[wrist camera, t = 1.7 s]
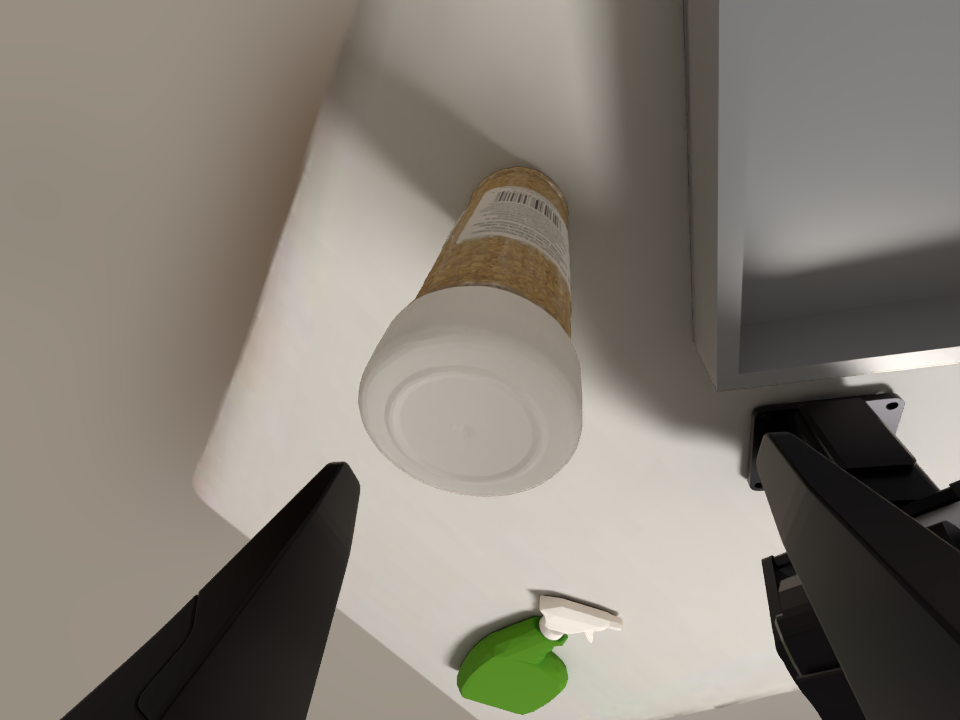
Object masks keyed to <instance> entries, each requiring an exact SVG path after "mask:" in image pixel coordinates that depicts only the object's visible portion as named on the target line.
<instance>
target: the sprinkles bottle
mask: <svg viewBox="0 0 960 720" xmlns="http://www.w3.org/2000/svg"><path fill="white" fill-rule="evenodd" d="M567 228H568V208H567V204H566V201H565V198H564V196H563V194H562V192H561V191H560V189H559V187H558V186H557V185H556V184H555V183H554V182H552V180H551V179H550V178H549V177H547V176H545V175H543V174H542V173H541V172H539V171H537V170H534V169H529V168H525V167H513V168H507V169H501V170H499V171H497V172H496V173H494V174H491V175H490V176H488V177H487V178H485V179H484V180H483V181H482V182H481V183H480V184H479V186H478V187H477V189H476V190H475V191H474V193H473V194H472V196H471V200H470V203H469V206H468V208H467V209H466V210H465V211H464V212H463V213H462V215H461V216H460V218H459V219H458V221H457V223H456V224H455V226H454V228H453V229H452V231H451V232H450V234H449V236H448V238H447V239H446V241H445V243H444V245H443V247H442V251H441V253H440V255H439V257H438V258H437V260H436V262H435V264H434V266H433V268H432V269H431V271H430V272H429V274H428V276H427V278H426V279H425V281H424V284H423V286H422V288H421V290H420V291H419V293H418V295H417V297H416V298H415V300H413V301H412V302H411V303H410V304H409V305H408V306H407V307H406V308H404V309H403V310H402V311H401V312H400V313H399V314H398V315H397V316H396V317H395V318H394V320H393V321H392V322H391V324H390V325H389V327H388V329H387V330H386V332H385V334H384V335H383V337H382V339H381V340H380V342H379V344H378V345H377V347H376V349H375V351H374V353H373V355H372V357H371V358H370V360H369V362H368V364H367V366H366V368H365V370H364V373H363V375H362V379H361V382H360V388H359V399H358V403H359V409H360V414H361V418H362V421H363V424H364V427H365V429H366V431H367V433H368V435H369V436H370V438H371V440H372V441H373V443H374V444H375V445H376V447H377V448H378V449H379V450H380V452H381V453H382V454H383V455H384V456H385V457H386V458H387V459H388V460H389V461H390V462H392V463H393V464H394V465H395V466H397V467H398V468H399V469H401V470H402V471H404V472H405V473H407V474H408V475H410V476H411V477H413V478H415V479H417V480H419V481H421V482H423V483H425V484H428V485H430V486H433V487H435V488H438V489H441V490H445V491H449V492H453V493H457V494H462V495H470V496H482V497H491V496H502V495H509V494H514V493H519V492H522V491H526V490H529V489H531V488H534V487H536V486H538V485H540V484H542V483H544V482H545V481H547V480H548V479H550V478H552V477H553V476H554V475H556V474H557V473H558V472H559V471H560V470H561V469H562V468H563V467H564V466H565V465H566V464H567V463H568V461H569V460H570V458H571V457H572V455H573V453H574V452H575V450H576V448H577V446H578V443H579V439H580V435H581V430H582V386H581V372H580V365H579V360H578V356H577V354H576V351H575V348H574V346H573V344H572V342H571V321H570V318H571V311H572V293H571V274H570V255H569V240H568V232H567Z"/></svg>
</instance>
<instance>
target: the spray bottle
mask: <svg viewBox="0 0 960 720" xmlns="http://www.w3.org/2000/svg"><path fill="white" fill-rule="evenodd" d="M539 610H540V611H541V612H542V613H543V615H544V616H543V617H533V618H530V619H527V620H524V621H521V622H519V623H516V624H513V625H510V626H508V627H506V628H504V629H502V630H499V631H496V632H493V633H491V634H490V635H488V636H487V637H485V638H484V639H482V640H481V641H480V642H479V643H478V644H476V645H475V646H474V647H473V648H472V649H471V651H470V652H469V654H468V655H467V657H466V658H465V660H464V661H463V663H462V664H461V667H460V670H459V673H458V675H457V686H458V688H459V691H460V693H461V695H462V697H464V698H466V699H470V700H473V701H476V702H480V703H483V704H486V705H490V706H493V707H497V708H500V709H503V710H507V711H510V712H513V713H517V714H522V715H524V714H527V713H530V712H534V711H535V710H537V709H539V708H540V707H542V706H544V705H545V704H547V703H549V702H550V701H551V700H552V699H553V698H554V697H556V696H557V695H558V694H559V693H560V692H561V691H562V690H563V689H564V688H565V687H566V684H567V680H568V675H567V670H566V666H565V664H564V663H563V662H562V660H561V659H560V658H559V657H558V656H557V655H555V654H554V653H553V652H551V651H552V649H553V647H554V646H561V645H563V644H564V642H565V641H566V639H567V638H568V636H567V634H572V633H579V632H585V634H586V636H587V639H588V640H589V642H590V643H593V633H594V631H603V630H604V629H606V628H610V629H615V630H619V631H620V630H621V629H622V626H623V621H622V619H621V618H620V617H617V616H614V615H611V614H610V613H608V612H605V611H602V610H598V609H595V608H592V607H589V606H585V605H582V604H579V603H575V602H572V601H569V600H566V599H562V598H556V597H549V596H543V595H541V596H540V609H539Z"/></svg>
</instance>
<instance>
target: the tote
mask: <svg viewBox="0 0 960 720" xmlns="http://www.w3.org/2000/svg"><path fill="white" fill-rule="evenodd" d="M683 15H684V49H685V83H686V116H687V150H688V184H689V217H690V251H691V285H692V318H693V341H694V344H695V346H696V348H697V350H698V352H699V354H700V356H701V359H702V361H703V363H704V365H705V367H706V369H707V372H708V374H709V376H710V378H711V380H712V382H713V385H714V387H715V389H716V391H717V392H718V391H727V390H735V389H744V388H752V387H761V386H769V385H778V384H787V383H795V382H804V381H812V380H821V379H829V378H838V377H846V376H855V375H864V374H872V373H881V372H889V371H898V370H906V369H915V368H924V367H932V366H941V365H949V364H958V363H960V0H683Z"/></svg>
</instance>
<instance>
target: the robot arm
mask: <svg viewBox="0 0 960 720" xmlns="http://www.w3.org/2000/svg"><path fill="white" fill-rule="evenodd" d="M889 403H890V404H889ZM904 405H905V402H904V401H903V400H902V399H901V398H900V397H899V396H898V395H897V394H895V393H885V394H876V395H866V396H857V397H847V398H838V399H828V400H819V401H809V402H799V403H790V404H780V405H771V406H762V407H758V408H756V409H755V410H754V411H753V412H752V419H751V434H750V449H749V465H748V480H747V481H748V484H749V486H750V488H751V489H752V490H755V491H763V490H764V491H765V494H766V496H767V499H768V502H769V505H770V508H771V511H772V514H773V517H774V520H775V523H776V526H777V529H778V531H779V534H780V537H781V540H782V542H783V545H784V547H785V549H786V552H785V553H783V554H780V555H777V556H775V557H774V556H769V557H767V558H764V559H762V567H763V573H764V580H765V586H766V592H767V598H768V605H769V611H770V617H771V623H772V630H773V634H774V640H775V646H776V650H777V653H778V655H779V656H780V658H781V659H782V660H783V662H784V664H785V666H786V668H787V670H788V671H789V673H790V675H791V676H792V678H793V680H794V681H795V683H796V684H797V686H798V687H799V689H800V690H801V691H802V693H803V694H804V695H805V696H806V698H807V699H808V700H809V701H810V703H811V704H812V705H813V706H814V708H815V709H816V711H817V712H818V714H819V715H820V717H821V718H822V720H960V480H959V481H956V482H954V483H951V484H949V486H950V487H948V488H946V489H943V490H940V489H939V488H938V487H937V486H936V485H935V484H934V482H933V481H932V480H931V479H930V478H929V477H928V475H927V474H926V473H925V472H924V471H923V470H922V469H921V467H920V466H919V465H918V464H917V463H916V459H915V457H914V456H913V455H912V454H911V453H910V452H909V450H908V449H907V448H906V447H905V446H904V445H903V444H902V442H901V441H900V440H899V439H898V438H897V437H896V436H895V434H896V430H897V427H898V424H899V421H900V418H901V415H902V412H903V408H904ZM763 415H766V416H763ZM761 416H763V417H761ZM359 496H360V484H359V481H358V479H357V478H356V476H355V474H354V473H353V471H352V469H351V468H350V466H349V465H348V463H346V462H331V463H329V464H327V465H326V466H325V467H324V468H323V469H322V470H321V471H320V472H319V473H318V474H317V475H316V476H315V477H314V478H313V479H312V480H311V481H310V482H309V483H308V484H307V485H306V486H305V487H304V488H303V489H302V490H301V491H300V492H299V493H298V494H297V495H296V496H295V497H294V498H293V499H292V500H291V501H290V502H289V503H288V504H287V505H286V506H285V507H284V508H283V509H282V510H281V511H280V512H279V513H278V514H277V515H276V516H275V517H274V518H273V519H272V520H271V521H270V522H269V523H267V524H266V525H265V526H264V527H263V528H262V529H261V530H260V531H259V532H258V533H257V534H256V535H255V536H254V537H253V538H252V539H251V540H250V541H249V543H247V545H245V546H244V547H243V548H242V549H241V550H240V551H239V552H238V554H236V555H235V556H234V557H233V558H232V559H231V560H230V561H229V562H228V563H227V564H226V566H224V567H223V568H222V569H221V570H220V571H219V572H218V573H217V574H216V575H215V576H214V577H213V578H212V579H211V580H210V582H208V583H207V584H206V585H205V586H204V588H202V589H201V590H200V591H199V594H198V595H195V596H194V597H193V598H192V599H191V600H190V601H189V602H188V603H187V604H186V605H185V606H184V607H183V608H182V609H181V610H180V611H179V612H178V613H177V614H176V615H175V616H174V617H173V618H172V619H171V620H170V621H169V622H168V623H167V624H165V626H163V628H161V629H160V630H159V631H158V632H157V633H156V634H155V635H154V636H153V637H152V638H151V639H150V640H149V641H147V642H146V643H145V644H144V645H143V646H142V647H141V648H140V649H139V650H138V651H137V652H135V653H134V654H133V655H132V656H131V657H130V658H129V659H128V660H127V661H126V662H125V663H123V664H122V665H121V666H120V667H119V668H118V669H117V670H115V671H114V672H113V673H112V674H111V675H110V676H109V677H108V678H106V679H105V680H104V681H103V682H102V683H101V684H100V685H99V686H97V688H95V689H94V690H93V691H92V692H91V693H90V694H88V695H87V696H86V697H85V698H84V699H83V700H82V701H81V702H79V703H78V704H77V705H76V706H75V707H74V708H73V709H72V710H70V711H69V712H68V713H67V714H66V715H65V716H64V717H63V718H61V719H60V720H306V716H307V712H308V709H309V705H310V702H311V698H312V694H313V690H314V687H315V682H316V679H317V675H318V672H319V668H320V664H321V660H322V657H323V653H324V649H325V646H326V642H327V637H328V634H329V631H330V627H331V623H332V619H333V616H334V612H335V608H336V604H337V601H338V597H339V593H340V590H341V586H342V582H343V578H344V575H345V571H346V567H347V563H348V559H349V555H350V550H351V545H352V539H353V533H354V527H355V521H356V514H357V508H358V502H359Z"/></svg>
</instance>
